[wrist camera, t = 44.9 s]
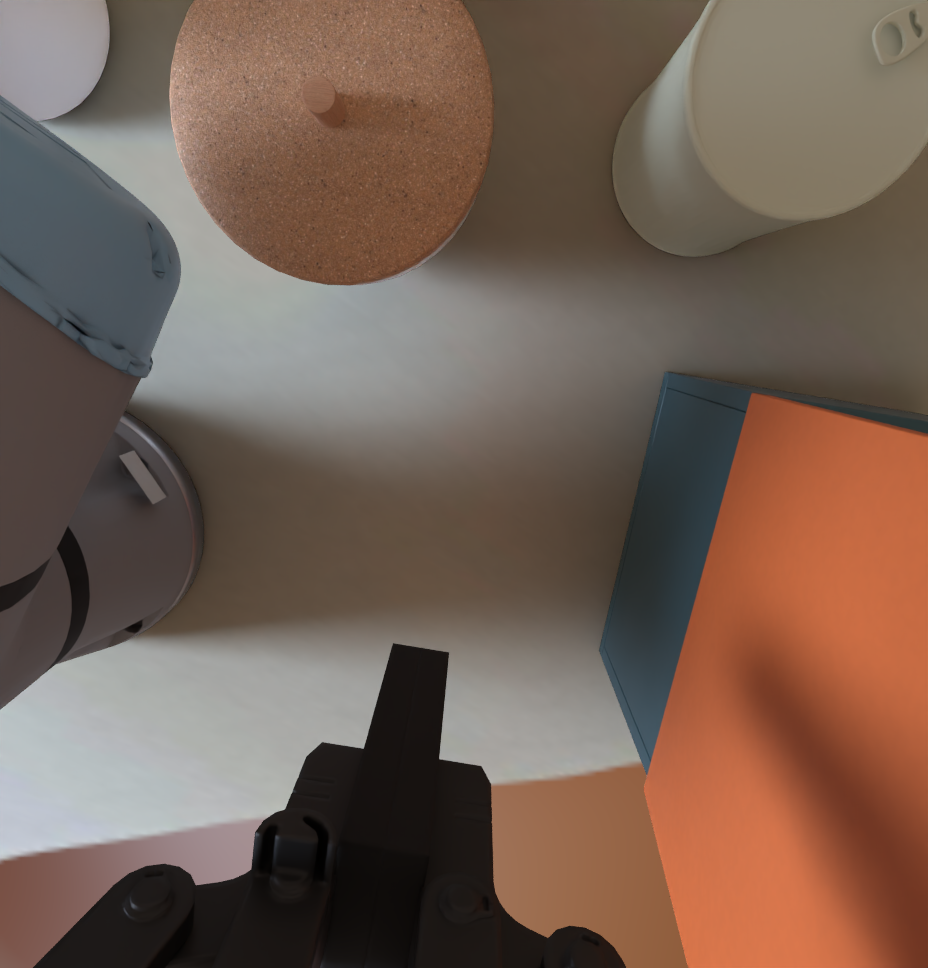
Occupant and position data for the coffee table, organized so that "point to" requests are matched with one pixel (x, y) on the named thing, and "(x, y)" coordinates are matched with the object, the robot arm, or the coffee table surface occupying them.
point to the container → (681, 535)
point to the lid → (804, 705)
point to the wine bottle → (51, 53)
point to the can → (774, 120)
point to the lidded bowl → (333, 129)
